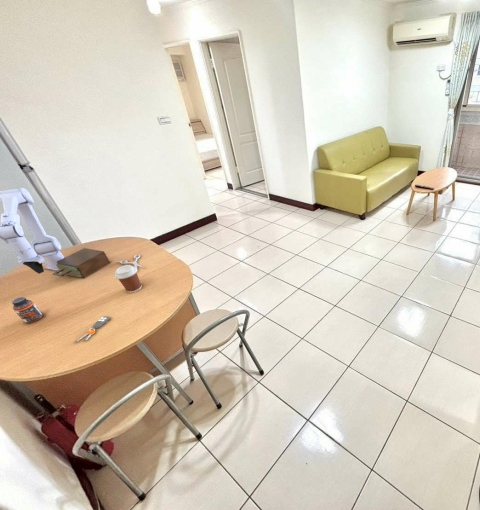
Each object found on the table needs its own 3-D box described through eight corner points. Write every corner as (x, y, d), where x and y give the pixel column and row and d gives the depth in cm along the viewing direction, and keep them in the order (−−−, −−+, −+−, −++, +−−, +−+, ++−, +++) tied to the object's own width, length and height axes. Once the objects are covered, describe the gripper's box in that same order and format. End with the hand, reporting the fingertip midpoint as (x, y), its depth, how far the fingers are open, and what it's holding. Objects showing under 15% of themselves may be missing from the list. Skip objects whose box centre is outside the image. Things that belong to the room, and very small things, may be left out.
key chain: (103, 318, 121) (101, 315, 120) (110, 318, 121) (109, 316, 120) (76, 341, 110) (74, 339, 109) (85, 342, 110) (83, 340, 109)
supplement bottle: (27, 325, 117) (10, 306, 111) (23, 320, 120) (5, 301, 114) (45, 317, 121) (29, 298, 115) (40, 312, 124) (25, 293, 118)
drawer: (71, 283, 140) (64, 274, 137) (52, 279, 143) (45, 269, 140) (105, 263, 155) (100, 254, 151) (87, 260, 158) (81, 251, 154)
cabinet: (84, 277, 145) (77, 265, 141) (64, 273, 148) (56, 261, 144) (110, 262, 157) (103, 251, 153) (91, 259, 160) (84, 247, 156)
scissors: (137, 253, 164) (151, 264, 153) (138, 254, 164) (152, 266, 154) (117, 261, 157) (130, 273, 146) (117, 262, 157) (131, 275, 147)
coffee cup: (119, 291, 136) (108, 271, 129) (137, 280, 143) (127, 262, 136) (131, 296, 133) (119, 276, 126) (148, 285, 140) (139, 266, 133)
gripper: (1, 251, 126) (20, 274, 133) (24, 255, 123) (42, 279, 130) (20, 243, 131) (37, 266, 139) (42, 247, 128) (58, 270, 136)
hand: (40, 272), depth 135 cm, fingers closed
